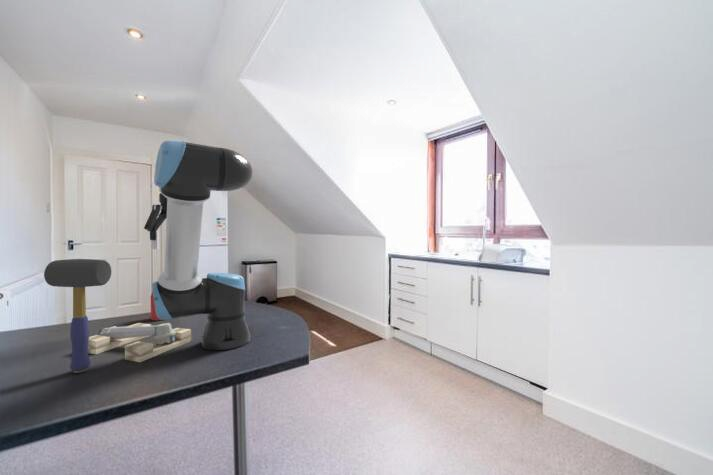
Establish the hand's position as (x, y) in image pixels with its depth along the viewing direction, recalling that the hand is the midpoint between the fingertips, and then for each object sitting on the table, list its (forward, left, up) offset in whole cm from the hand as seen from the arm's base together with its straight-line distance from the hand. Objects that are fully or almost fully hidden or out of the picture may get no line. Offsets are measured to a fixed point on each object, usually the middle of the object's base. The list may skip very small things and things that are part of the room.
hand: (171, 248), depth 121 cm
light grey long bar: (-7, +19, -29) cm, 36 cm away
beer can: (+14, -7, -31) cm, 35 cm away
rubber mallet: (-10, +37, -31) cm, 49 cm away
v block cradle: (-8, +19, -31) cm, 37 cm away
